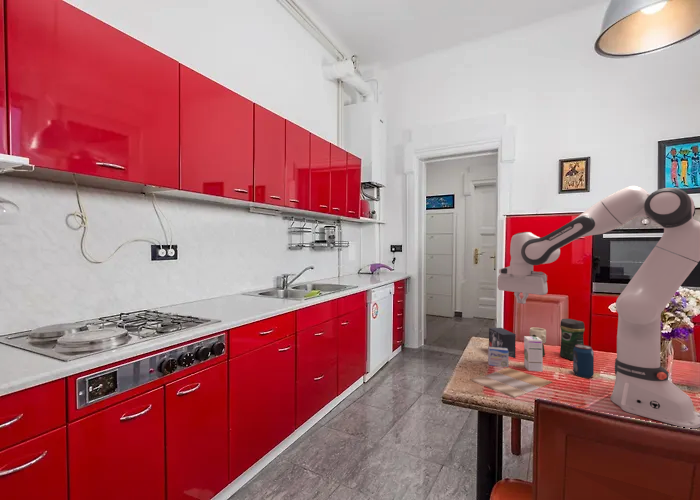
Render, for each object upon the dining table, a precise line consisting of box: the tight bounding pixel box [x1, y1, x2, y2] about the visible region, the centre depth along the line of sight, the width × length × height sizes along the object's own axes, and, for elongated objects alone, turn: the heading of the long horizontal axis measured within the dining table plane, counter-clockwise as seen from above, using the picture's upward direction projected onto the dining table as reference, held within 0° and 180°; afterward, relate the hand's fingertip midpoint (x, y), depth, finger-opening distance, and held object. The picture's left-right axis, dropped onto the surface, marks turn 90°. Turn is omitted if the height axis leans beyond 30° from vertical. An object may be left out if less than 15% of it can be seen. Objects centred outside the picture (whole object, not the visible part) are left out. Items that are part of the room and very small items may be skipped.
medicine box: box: [487, 346, 510, 368], centre depth 147 cm, size 8×4×9 cm, turn 73°
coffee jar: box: [559, 318, 586, 361], centre depth 160 cm, size 10×8×19 cm
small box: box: [488, 327, 517, 359], centre depth 165 cm, size 13×7×12 cm, turn 6°
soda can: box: [572, 344, 595, 379], centre depth 138 cm, size 7×7×12 cm
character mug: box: [529, 326, 547, 356], centre depth 164 cm, size 11×7×13 cm, turn 6°
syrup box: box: [523, 335, 544, 372], centre depth 142 cm, size 6×6×14 cm
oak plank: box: [496, 366, 553, 388], centre depth 132 cm, size 18×8×2 cm, turn 33°
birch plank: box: [469, 375, 529, 399], centre depth 123 cm, size 18×8×2 cm, turn 33°
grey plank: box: [484, 371, 541, 393], centre depth 128 cm, size 18×8×2 cm, turn 33°
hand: (521, 303), depth 142 cm, fingers closed
